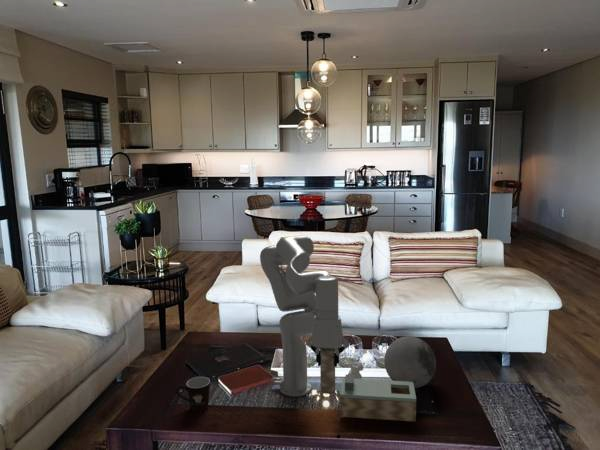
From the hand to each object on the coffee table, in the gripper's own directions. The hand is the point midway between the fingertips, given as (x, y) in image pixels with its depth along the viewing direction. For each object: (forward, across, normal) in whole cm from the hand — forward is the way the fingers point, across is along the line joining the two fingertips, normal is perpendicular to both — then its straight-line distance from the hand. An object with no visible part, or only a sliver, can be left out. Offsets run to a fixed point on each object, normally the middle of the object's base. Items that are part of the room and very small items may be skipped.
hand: (327, 364), depth 161 cm
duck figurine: (+23, +8, +28) cm, 37 cm away
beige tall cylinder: (+9, 0, 0) cm, 9 cm away
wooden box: (+22, +17, +10) cm, 30 cm away
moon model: (+23, +30, +31) cm, 49 cm away
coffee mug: (+23, -50, +6) cm, 55 cm away
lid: (+14, +17, +10) cm, 24 cm away
